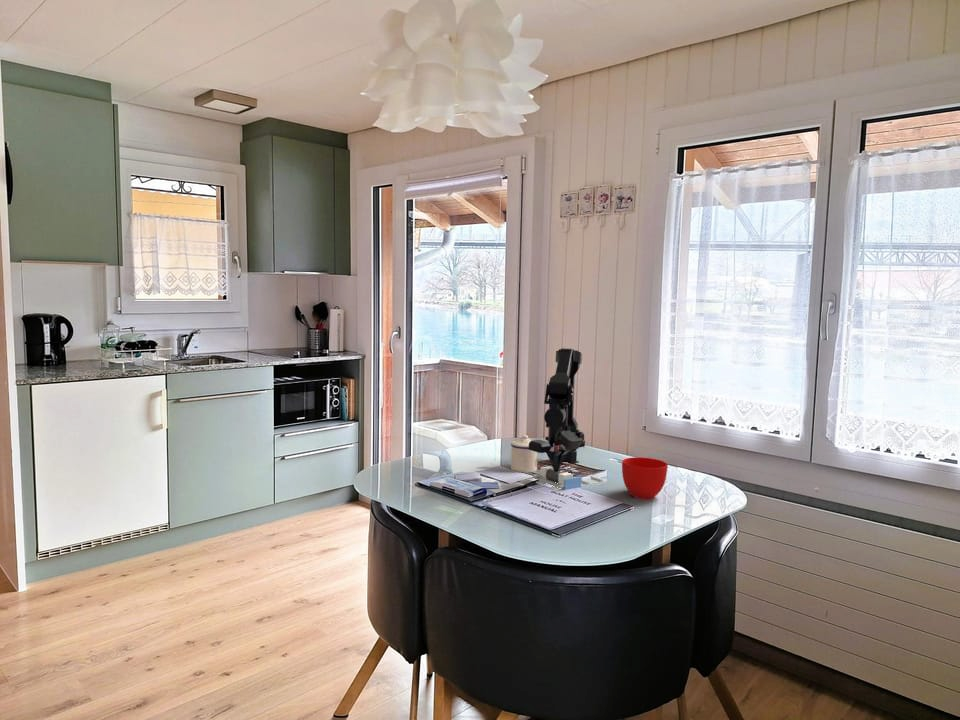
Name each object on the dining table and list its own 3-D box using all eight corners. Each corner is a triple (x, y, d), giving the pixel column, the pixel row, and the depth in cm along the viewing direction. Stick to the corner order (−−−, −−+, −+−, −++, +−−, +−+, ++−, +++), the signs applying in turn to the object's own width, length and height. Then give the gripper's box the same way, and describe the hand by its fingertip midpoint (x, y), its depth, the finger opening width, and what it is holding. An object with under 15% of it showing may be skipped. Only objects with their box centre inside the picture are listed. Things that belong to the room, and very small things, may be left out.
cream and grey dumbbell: (540, 478, 214) (540, 467, 213) (548, 477, 216) (549, 466, 216) (563, 487, 205) (564, 475, 205) (572, 485, 207) (572, 474, 207)
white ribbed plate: (526, 480, 213) (526, 470, 212) (577, 471, 225) (578, 461, 225) (558, 492, 201) (558, 481, 200) (610, 482, 213) (611, 471, 213)
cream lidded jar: (542, 472, 223) (543, 437, 222) (516, 474, 220) (517, 439, 219) (527, 463, 234) (528, 430, 233) (503, 465, 231) (504, 431, 230)
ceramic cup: (666, 488, 208) (667, 456, 207) (665, 504, 191) (667, 469, 190) (622, 484, 211) (624, 452, 210) (619, 499, 195) (620, 465, 194)
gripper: (552, 428, 197) (550, 481, 198) (598, 423, 207) (596, 473, 209) (528, 422, 206) (526, 472, 207) (573, 417, 216) (571, 465, 218)
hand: (556, 471), depth 210 cm, fingers closed
